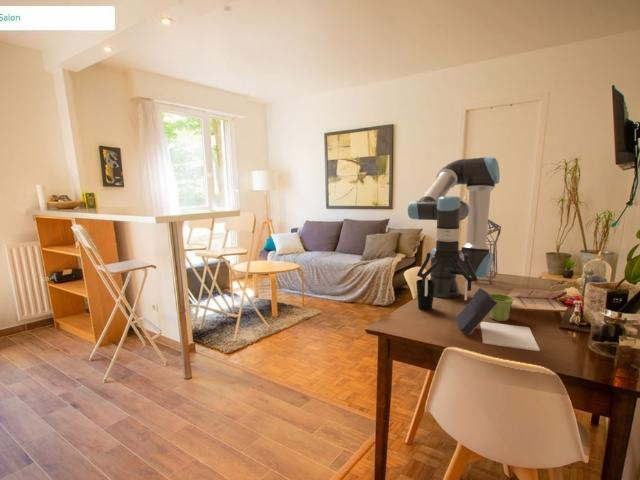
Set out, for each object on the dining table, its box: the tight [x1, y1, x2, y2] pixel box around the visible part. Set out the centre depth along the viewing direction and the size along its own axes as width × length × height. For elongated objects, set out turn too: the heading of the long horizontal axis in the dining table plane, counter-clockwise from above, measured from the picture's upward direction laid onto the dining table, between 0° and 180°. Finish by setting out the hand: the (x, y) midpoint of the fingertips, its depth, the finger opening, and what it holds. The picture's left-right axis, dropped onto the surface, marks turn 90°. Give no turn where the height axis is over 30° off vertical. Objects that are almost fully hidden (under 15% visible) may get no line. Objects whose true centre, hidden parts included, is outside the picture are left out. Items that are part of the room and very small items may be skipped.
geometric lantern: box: [470, 218, 502, 285], centre depth 176 cm, size 16×16×35 cm
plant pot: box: [488, 293, 515, 322], centre depth 128 cm, size 9×9×9 cm
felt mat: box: [479, 321, 541, 352], centre depth 114 cm, size 18×16×1 cm
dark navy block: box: [455, 287, 497, 336], centre depth 118 cm, size 11×4×15 cm
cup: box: [415, 278, 435, 312], centre depth 141 cm, size 8×8×12 cm
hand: (445, 297), depth 120 cm, fingers open, 13 cm apart
